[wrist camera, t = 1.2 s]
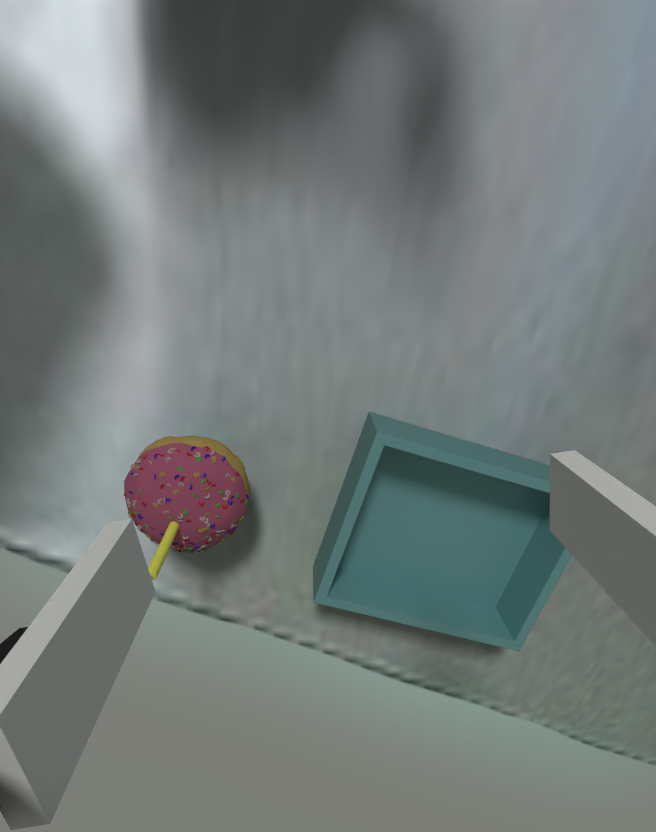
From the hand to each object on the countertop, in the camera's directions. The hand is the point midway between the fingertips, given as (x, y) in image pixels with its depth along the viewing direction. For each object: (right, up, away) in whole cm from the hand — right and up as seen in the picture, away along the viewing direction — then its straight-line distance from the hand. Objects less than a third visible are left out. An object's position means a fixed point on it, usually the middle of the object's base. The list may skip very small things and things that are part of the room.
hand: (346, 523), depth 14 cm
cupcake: (-11, -1, +22) cm, 25 cm away
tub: (+9, -5, +24) cm, 26 cm away
